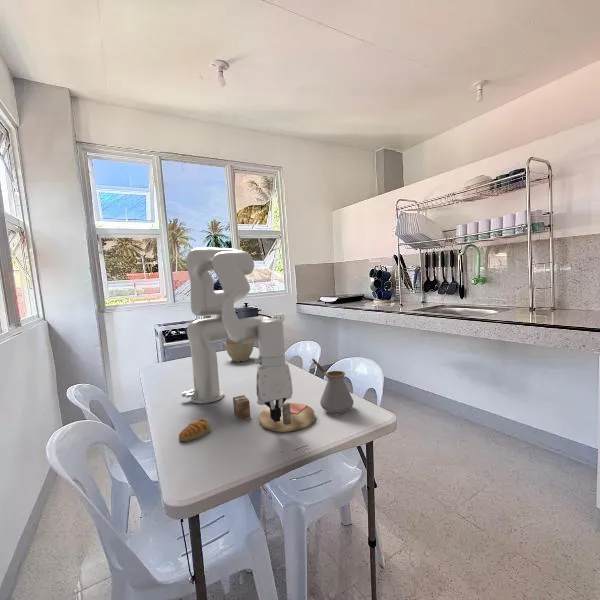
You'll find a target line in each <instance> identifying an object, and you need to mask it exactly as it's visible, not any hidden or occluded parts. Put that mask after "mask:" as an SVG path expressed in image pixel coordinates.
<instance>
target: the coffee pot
mask: <svg viewBox="0 0 600 600" xmlns="http://www.w3.org/2000/svg"><path fill="white" fill-rule="evenodd" d="M311 361H312V362H311ZM309 363H310V364H313V365H315V366H316V367H317V369H318V370H320V372H321V373H323V375H324V376H325V377H326V378H327V382H326V385H325V388H324V390H323V393H322V396H321V398H320V400H319V403H320V406H321V408H322V409H323V410H324V411H326V413H328V414H329V415H335V416H336V415H337V416H338V415H339V416H340V415H344V414H347V413H348V412H349V411H350V410H351V409H353V408H352V407H353V406H354V398H353V397H352V395H351V393H350V391H349V388H348V385H346V381H345V380H344V377H345V376H346V373H345V372H344V371H343V370H342V371H341V370H331V371H328V372H326V371H325V369H324V368H323V367H322V366H321V364H319V363H318V361H317V360H316V359H314V358H312V359H311V360H310V361H309Z"/></svg>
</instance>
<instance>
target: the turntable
mask: <svg viewBox="0 0 600 600" xmlns="http://www.w3.org/2000/svg"><path fill="white" fill-rule="evenodd" d="M258 418H259V424H260V425H261V427H263V428H264V429H266V430H269V431H273V432H280V433H281V432H283V433H285V432H287V433H288V432H293V431H299V430H302V429H304V428H307V427H309V426H310V425H311V424H313V422H315V410H314V409H313V408H312V407H311V406H309V405H308V404H304V403H299V402H298V403H297V402H291V401H290V402H288V401H287V402H286V401H285V402H284V403H283V405H282V407H281V417H280V421H279V422H278V421H277V422H274V421H273V419H271V417H270V408H269V407H268V406H267V407H266V408H265V409H263V410H262V411H261V412H260V414H259V417H258Z"/></svg>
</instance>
